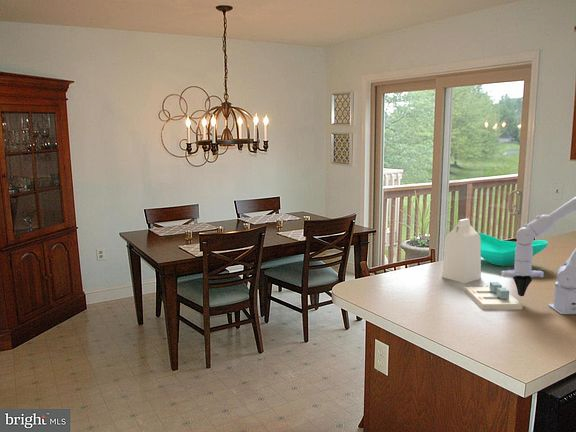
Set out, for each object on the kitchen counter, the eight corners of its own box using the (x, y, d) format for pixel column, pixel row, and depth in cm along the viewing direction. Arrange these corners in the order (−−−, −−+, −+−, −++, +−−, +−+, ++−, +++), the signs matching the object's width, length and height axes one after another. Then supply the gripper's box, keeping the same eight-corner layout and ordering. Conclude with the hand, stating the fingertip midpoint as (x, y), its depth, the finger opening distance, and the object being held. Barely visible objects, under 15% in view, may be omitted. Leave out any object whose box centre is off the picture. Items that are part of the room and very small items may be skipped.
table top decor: (449, 263, 240) (450, 236, 238) (471, 252, 260) (472, 228, 258) (536, 278, 213) (538, 248, 211) (553, 265, 234) (555, 238, 232)
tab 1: (501, 292, 187) (501, 285, 187) (493, 292, 187) (493, 285, 187) (497, 289, 191) (497, 282, 191) (489, 289, 191) (489, 282, 191)
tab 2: (508, 298, 180) (509, 291, 180) (500, 298, 180) (501, 291, 180) (504, 295, 184) (504, 287, 184) (496, 295, 184) (496, 287, 184)
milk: (464, 283, 208) (467, 222, 203) (441, 277, 217) (444, 219, 213) (480, 278, 215) (484, 219, 210) (458, 272, 224) (460, 216, 220)
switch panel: (522, 309, 176) (522, 303, 176) (482, 309, 176) (483, 303, 176) (500, 291, 196) (500, 286, 195) (464, 291, 196) (464, 286, 196)
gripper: (538, 257, 183) (535, 291, 186) (499, 257, 184) (496, 291, 186) (547, 261, 176) (544, 298, 179) (506, 262, 177) (504, 298, 179)
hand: (520, 295), depth 182 cm, fingers closed
